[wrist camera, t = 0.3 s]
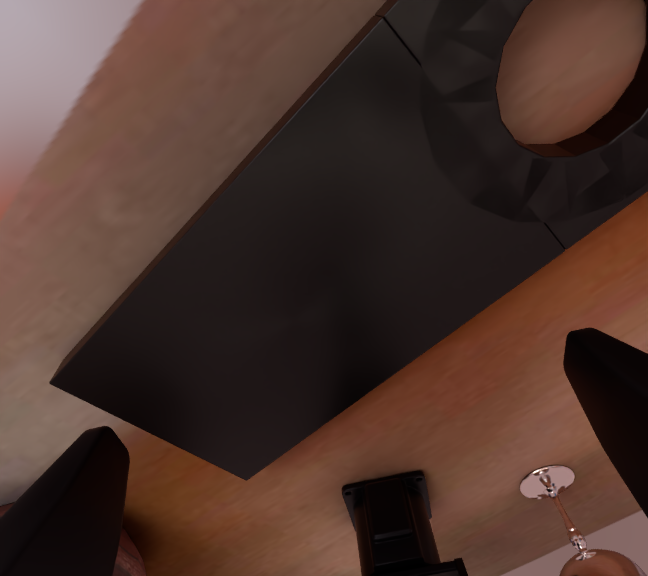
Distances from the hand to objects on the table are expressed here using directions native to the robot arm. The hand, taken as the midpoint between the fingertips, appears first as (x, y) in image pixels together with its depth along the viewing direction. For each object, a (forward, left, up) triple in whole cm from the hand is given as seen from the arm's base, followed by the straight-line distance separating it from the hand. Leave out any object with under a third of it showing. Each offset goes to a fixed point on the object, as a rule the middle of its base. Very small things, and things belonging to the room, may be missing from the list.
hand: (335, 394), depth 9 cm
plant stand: (-4, -2, -15) cm, 15 cm away
